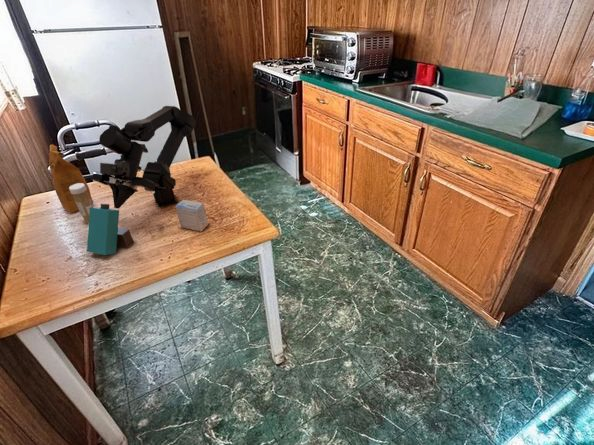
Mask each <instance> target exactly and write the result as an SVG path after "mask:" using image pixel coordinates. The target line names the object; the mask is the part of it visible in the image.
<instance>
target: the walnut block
mask: <svg viewBox="0 0 594 445" xmlns="http://www.w3.org/2000/svg"><path fill="white" fill-rule="evenodd" d="M134 243H135V241H134V238H133V236H132V233H131V230H130V229H128V228H123V227H118V233H117V246H116V247H119V248H125V249H128V248H130V247H131V245H133V244H134Z"/></svg>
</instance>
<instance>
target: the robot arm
mask: <svg viewBox="0 0 594 445" xmlns="http://www.w3.org/2000/svg"><path fill="white" fill-rule="evenodd" d="M168 123H169V126H170V130H171V131H170V133H169V135H168V137H167V138H166V139H165V140H166V141H165V143H164V144H163V147H162V149H161V151H160V152H159V154H158V156H157V158H156V160H155V161H151V162H150V161H148V162H147V163H146V166H145V168H144V169H143V170H142V166H140V164H141V161H142V157H143V153H145V154H147V153H149V150H148V148H147V147H146V144H145V143H147V142H149V141H151V140H152V139H153V138H154V136H155V134H156V131H157V130H159V129H160V128H161V127H163V126H164V125H166V124H168ZM196 125H197V122H196V119H195V117H194V116H193V115H192V114H190V113H188V112H186V111H184V110H181V109H180V108H179V107H177V106H176V105H164V106H162V107H161V108H160V109H159V110H157V111H155V112H154V113H152V114H150V115H149V116H146V117H145V118H142V119H136V120H131V121H128V122H126V123H125V124H124V127H122V128H119V126H117V125H114V124H113V125H112V124H110V125H109V126H108V128H107V129H105V130H104V131H102V133H101V134H100V135H99V144H100V145H101V146H102V147H104V148H106V149H108V150H109V151H112V152H113V153H115V154H116V155H117V154H118V155H119V159H117V158H116V159H115V160H114V162H100V163H99V171H96V172H93V174H92V177H91V180H92V181H95V182H96V183H99V184H102V185H104V186H109V188H110V189H111V193H112V199H113V209H116V210H119V209H120V208H121V207H122V206H123V205H124V204H125V203H126V202H127V201H128V199H130V198H131V197H132V196H133V195H134V194H135V193H138V192H139V190H138V187H140V188H144V190H145V192H146V191H147V192H152V195H153V199H154V202H155V204H156V205H157V206H158V208H161V207H166V206H170V205H173V204H176V203H177V204H178V201H177V199H176V197H175V193H174V189H175V186H176V185H177V181H176V179H175V178H173V177H172V174H171V169H170V168H171V166H172V164H173V162H174V159H175V158H176V155H177V153H178V152H179V149H180V147H181V145H182V143H183V140H184V139H185V138H186V137H187V136H189V135H191V134H192V132H193V131H194V130H195V127H196ZM139 142H144V143H139ZM138 171H142V172H143V173H142V176H138V173H139V172H138Z"/></svg>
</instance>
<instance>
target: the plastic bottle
mask: <svg viewBox="0 0 594 445" xmlns="http://www.w3.org/2000/svg"><path fill="white" fill-rule="evenodd" d="M119 218H120V210H119V209H116V208H110V204H109V203H100V206H99V207H95V206H94V207H90V214H89V224H88V229H87V241H86V242H87V243H86V253H87V252H88V253H92V254H97V255H101V256H108V255H114V254H117V247H118V246H117V233H118V228H119Z"/></svg>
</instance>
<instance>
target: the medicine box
mask: <svg viewBox="0 0 594 445" xmlns="http://www.w3.org/2000/svg"><path fill="white" fill-rule="evenodd" d="M175 210H176V213H177V214H176V215H177V217H178V220H179V224H180V228H182V229H187V230H192V231H197V232H203V231H204V229H205V228H206V227H207V226H208V225H209V222H208V216H207V213H206V208H205V204H204V203H203V202H201V201H200V202H199V201H195V200H189V199H188V200H187V199H182V200H181V201H179V202H177V204H176V205H175Z"/></svg>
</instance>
